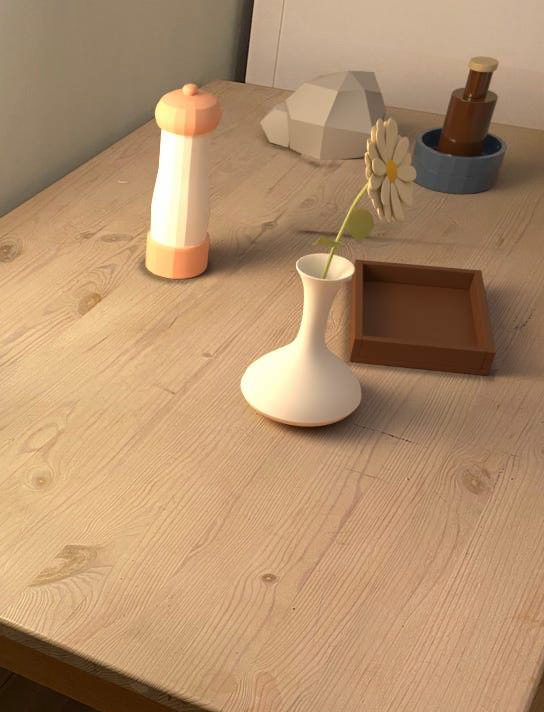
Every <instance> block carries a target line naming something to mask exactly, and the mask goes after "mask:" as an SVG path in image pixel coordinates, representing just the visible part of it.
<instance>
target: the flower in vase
mask: <svg viewBox="0 0 544 712" xmlns="http://www.w3.org/2000/svg"><path fill="white" fill-rule="evenodd" d="M398 127H399V126H398V123H397V122H396V120H394V118H392V117H390V118H388V120H384V121H383V120H382V119H381V118H380V119H378V121H377V124H376V126H373V127H372V131H371V139H370V138H368V140H367V150H368V152H366V153H365V156H364V162H365V166H366V167H365V177H366V180H367V182H366V183H365V185H364V186H363V188H362V189H361V190H360V192H359V194H358V195H357V197H356V198H355V199H354V201H353V203H352V205H351V206H350V208H349V209H348V212H347V214H346V216H345V218H344V221H343V223H342V226H341V227H340V230H339V232H338V234H337V237H336V239H335V240H331V239H329V238H327V236H324V235H322V234H321V235H320V236H319V237H318V239H317V240H316V241H315V242H313V243H312V245H313V246H318V247H324V248H330V249H331V250H330V252H329V253H323V252H322V253H321V252H320V253H319V252H318V253H311V254H310V253H309V254H307V255H304V256H302V257H300V258H299V259H298V260H297V261H296V263H295V268H296V270H297V273H298V274H299V276H300V278H301V281H302V285H303V294H304V295H303V297H304V298H303V312H302V318H301V323H300V328H299V331H298V333H297V335H296V337H295V339H294V340H293V341H292V342H290V343H289V344H287V345H284V346H282V347H279V348H277V349H275V350H272V351H270V352H268V353H266V354H264V355H263V356H260V357H259V358H258V359H256V360H255V361H253V362H252V363H251V364H249V366H248V367H247V369H246V370H245V372H244V373H243V376H242V377H241V380H240V389H241V393H242V394H243V397H244V398H245V400H246V401H247V403H248V404H249V406H250V407H251V408H252V409H253V410H254V411H255V412H257V413H258V414H260V415H261V416H264V417H266V418H267V419H270V420H272V421H274V422H278V423H280V424H285V425H290V426H296V427H320V426H327V425H330V424H331V425H332V424H335V423H338V422H340V421H342V420H344V419H345V418H347V417H348V416H350V415H351V414H352V413H353V412H354V411H355V410H356V409H357V408H358V407H359V405H360V403H361V401H362V388H361V383H360V380H359V378H358V377H357V375H356V374H355V373H354V372H353V370H352V368H350V366H349V365H348V364H347V363H346V362H344V360H342V359H341V358H340V357H339V356H338V355H336V354H335V353H334V352H332V350H330V348H329V347H328V346H327V343H326V328H327V324H328V320H329V315H330V312H331V309H332V307H333V303H334V301H335V298H336V296H337V294H338V292H340V289H341V288H342V286H343V285H344V284H345V283H346V282H347V281H348V280H349V279H350V278H352V275H353V274H354V272H355V267H354V265H355V264H353V263H352V262H351V261H350V260H349V259H347V258H345V257H342V256H340V255H337V254H335V253H336V250H337V248H339V247H342V246H343V245H345V244H346V243H345V242H343V241H340V240H342V239H341V238H342V237H343V234H344V232H345V230H346V228H347V230H348V232H349V234H350V235H351V237H352V238H353V239H354V240H355V241H358V242H359V241H363V240H364V239H366V238H367V237H368V236H369V235H370V234H371V233H372V231H373V229H374V225H375V219H374V216H373V215H372V213H371V212H370V211H368V210H367V209H365V208H363V207H357V206H358V204H359V203H360V201H361V199H362V198H363V197H364V195H365V194H366V192H367V194H368V197H369V199H371V202H372V205H373V207H374V209H375V210H376V211H377V216H378V217H379V219H380V220H384V218H385V219H386V220H387V222H389V223H391V222H392V221H393V222H395V223H397V222H398V221H401V222H403V221H404V220H405V212H404V206H403V205H405V206H406V207H407V208H409V209H410V208H413V206H414V199H413V196H414V193H415V192H414V191H415V190H414V187H413V185H412V184H411V182H414V181H413V180H415V178H416V170H415V168H414V167H412V166H410V164H411V161H412V154H411V153H409V152H408V150H409V147H410V140H409V138H408V136H403V137H402V136H401V135H399V129H398ZM356 207H357V208H356Z"/></svg>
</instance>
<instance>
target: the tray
mask: <svg viewBox="0 0 544 712" xmlns="http://www.w3.org/2000/svg"><path fill="white" fill-rule="evenodd" d="M353 265H354V267H355V272H354V274H353V275H352V276H351V279H350V305H349V306H350V308H349V311H350V312H349V349H348V351H349V355H348V357H349V358H348V361H349V362H351V363H363V364H369V365H380V366H390V367H399V368H400V367H401V368H409V369H410V368H411V369H419V370H429V371H438V372H449V373H458V374H459V373H460V374H469V375H477V376H489V373H490V370H491V367H492V364H493V362H494V358H495V356H496V354H497V351H496V345H495V340H494V335H493V329H492V328H493V327H492V323H491V317H490V313H489V307H488V300H487V295H486V289H485V283H484V277H483V271H482V270H481V269H470V268H468V269H467V268H458V267H448V266H447V267H446V266H435V265H423V264H413V263H412V264H410V263H402V262H401V263H400V262H389V261H378V260H377V261H376V260H368V259H367V260H366V259H355V262H354V264H353Z"/></svg>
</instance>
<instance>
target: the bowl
mask: <svg viewBox="0 0 544 712" xmlns="http://www.w3.org/2000/svg"><path fill="white" fill-rule="evenodd" d="M442 128H443V126H436V127H431V128H427V129H424V130H423V131H421V132H420V133H419V134H417V136H416V139H415V143H414V148H413V152H412V154H411V158H412V161H411V164H410V166H412V167H414V168H415V170H416V178H415V180H413V181H412V182H414V183H415V184H417V185H419V186H421V187H423V188H425V189H428V190H432V191H435V192H440V193H445V194H455V195H456V194H457V195H470V194H478V193H482V192H486V191H488V190H490V189H492V188H493V187H494V186H495V184H496V183H497V180H498V177H499V175H500V170H501V168H502V165H503V163H504V162H503V161H504V158H505V155H506V152H507V149H508V146H507V142H506V141H505V140H504V139H502V138H501V136H498V135H497V134H494V133H492V132H489V131H488V133H487V136H486V139H485V143H484V146H483V149H482V153H481V156H480V157H462V156H454V155H449V154H444V153H441V152H438V151H436V150H437V147H438V143H439V139H440V135H441V132H442Z"/></svg>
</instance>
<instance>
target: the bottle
mask: <svg viewBox="0 0 544 712" xmlns="http://www.w3.org/2000/svg"><path fill="white" fill-rule="evenodd" d="M468 62H469V63H468V67H467V68H468V69H469V72H468V75H467V79H466V83H465V86H464V87H459V88H456V89H454V90H452V91H451V95H450V97H449V98H450V99H449V101H448V105H447V110H446V113H445V117H444V120H443V124H442V127H443V128H442V132H441V135H440V139H439V143H438V147H437V150H436V151H438V152H441V153H444V154H449V155H454V156H462V157H480V156H481V153H482V149H483V146H484V143H485V139H486V136H487V133H488V132H489V129H490V126H491V122H492V119H493V116H494V113H495V109H496V106H497V102H498V99H499V95H498V94H497V93H495V92H494V91H492V90H489V89H490V85H491V81H492V79H493V75H494V72H496V71H497V70H498V67H499V64H500V62H499V60H498V59H496V58H494V57H490V56H474V57H471V58H470V59H469V61H468Z"/></svg>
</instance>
